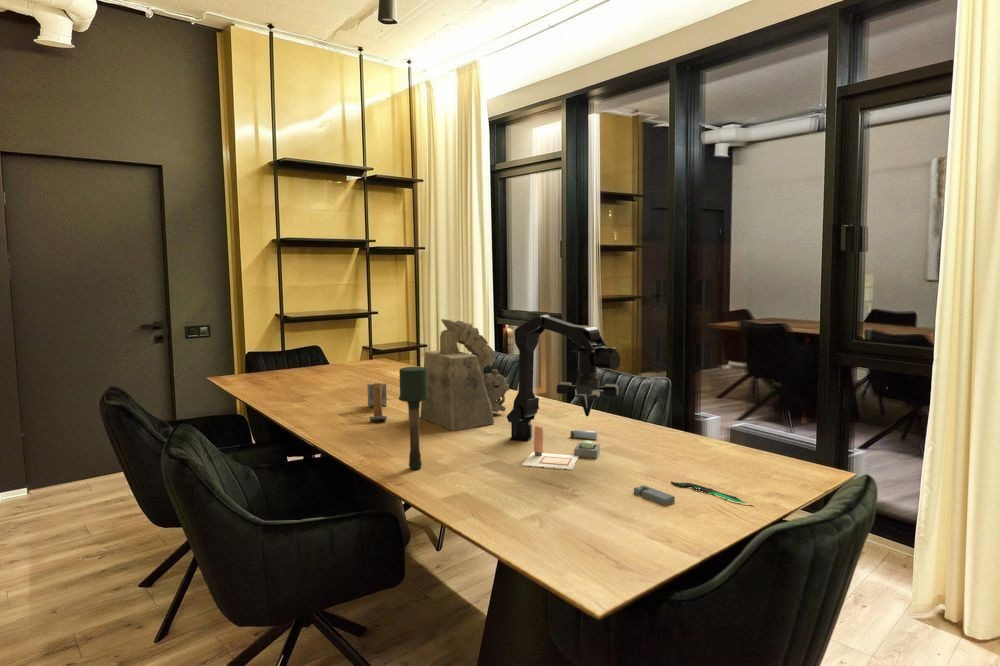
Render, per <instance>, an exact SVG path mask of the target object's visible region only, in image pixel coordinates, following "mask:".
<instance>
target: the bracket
mask: <svg viewBox="0 0 1000 666" xmlns="http://www.w3.org/2000/svg"><path fill="white" fill-rule="evenodd" d="M633 494H634V495H636V494H637V495H636V496H639V495H640V496H641V497H642V498H643V499H646V498H647V500H649V499H650V501H651V500H653V501H652V502H654V501H655V503H657V502H658V503H657V504H659V503H660V505H662V504H663V505H662V506H667V505H666V504H668V505H670V504H669V503H671V504H673V503H672V502H674V503H675V499H676V497H675V496H674V495H672V494H669V493H666V492H663V491H661V490H658V489H655V488H652V487H650V486H648V485H645V484H643V485H640V486H636V487H633Z"/></svg>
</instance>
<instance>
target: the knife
mask: <svg viewBox="0 0 1000 666" xmlns="http://www.w3.org/2000/svg"><path fill="white" fill-rule="evenodd" d="M670 483H671V485H672V486H674V485H676V486H675V487H677V486H679V487H678V488H681V487H692V488H693V489H694V490H700V491H699V492H701V491H703V492H702V493H704V492H706V493H705V494H707V493H710V494H709V495H712V494H716V495H718V496H721V497H724V498H726V499H730V500H732V501H735V502H742V503H746V502H745V501H744V502H743V500H742V499H741V498H738V497H737V496H735V495H731V494H730V495H729V494H726V493H723V492H720V491H717V490H715V489H713V488H711V487H710V488H709V487H706V486H702V485H699V484H695V483H691V482H674V481H672V480H671V481H670ZM692 488H691V489H692ZM696 488H700V489H696ZM693 489H692V490H693ZM694 490H693V491H694Z"/></svg>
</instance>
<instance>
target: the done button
mask: <svg viewBox="0 0 1000 666" xmlns="http://www.w3.org/2000/svg"><path fill="white" fill-rule="evenodd" d="M580 443H581V449H594V444H595V442H594V441H593V440H590V439H585V440H581V441H580Z"/></svg>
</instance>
